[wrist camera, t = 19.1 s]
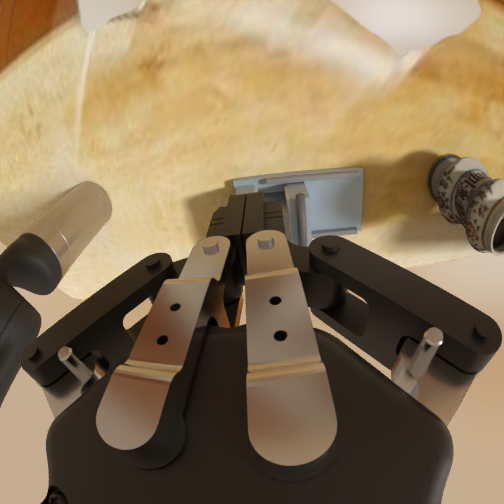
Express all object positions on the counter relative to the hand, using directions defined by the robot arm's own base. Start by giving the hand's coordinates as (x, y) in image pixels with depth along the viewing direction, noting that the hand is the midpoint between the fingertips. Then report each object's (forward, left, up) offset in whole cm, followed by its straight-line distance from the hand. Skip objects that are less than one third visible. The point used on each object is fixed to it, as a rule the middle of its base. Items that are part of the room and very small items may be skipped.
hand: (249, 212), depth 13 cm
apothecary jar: (+33, -11, -29) cm, 45 cm away
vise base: (+5, -14, -29) cm, 33 cm away
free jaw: (+4, -14, -28) cm, 31 cm away
